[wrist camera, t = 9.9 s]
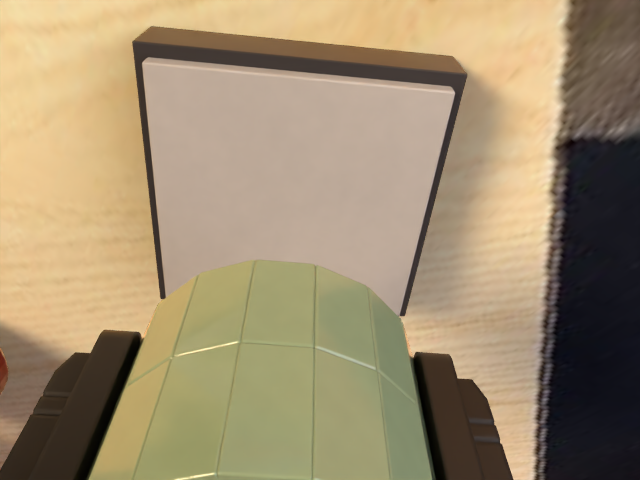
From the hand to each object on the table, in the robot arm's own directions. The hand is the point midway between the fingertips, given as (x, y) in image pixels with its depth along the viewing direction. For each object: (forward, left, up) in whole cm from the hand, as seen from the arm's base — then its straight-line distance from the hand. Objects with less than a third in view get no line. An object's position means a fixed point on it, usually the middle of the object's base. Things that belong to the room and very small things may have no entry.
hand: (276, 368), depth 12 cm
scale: (0, 0, -10) cm, 10 cm away
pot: (0, 0, -1) cm, 1 cm away
